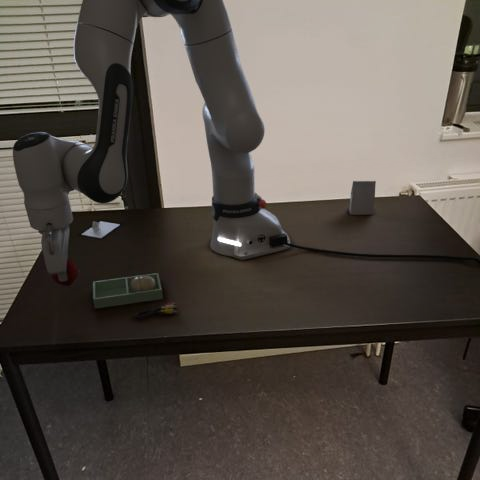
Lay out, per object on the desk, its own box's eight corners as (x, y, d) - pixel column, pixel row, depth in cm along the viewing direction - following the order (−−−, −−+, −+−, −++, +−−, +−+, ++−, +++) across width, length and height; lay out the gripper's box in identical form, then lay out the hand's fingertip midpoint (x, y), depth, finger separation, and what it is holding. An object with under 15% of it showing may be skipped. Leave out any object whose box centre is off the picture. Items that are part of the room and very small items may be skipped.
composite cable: (135, 321, 115) (133, 312, 114) (136, 309, 119) (135, 300, 118) (179, 317, 116) (178, 308, 114) (179, 306, 120) (178, 297, 118)
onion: (73, 293, 115) (66, 262, 110) (50, 291, 116) (41, 260, 111) (85, 280, 120) (78, 249, 115) (62, 278, 121) (54, 247, 116)
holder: (159, 282, 129) (158, 272, 127) (163, 299, 122) (161, 289, 121) (95, 291, 126) (92, 281, 124) (95, 309, 120) (92, 299, 118)
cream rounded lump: (155, 286, 127) (153, 271, 124) (157, 294, 124) (155, 279, 121) (131, 289, 126) (128, 274, 123) (132, 298, 122) (129, 283, 120)
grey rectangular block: (372, 214, 159) (376, 183, 154) (350, 214, 160) (353, 183, 154) (370, 209, 162) (374, 179, 157) (349, 209, 163) (352, 179, 157)
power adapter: (91, 231, 154) (89, 222, 152) (96, 228, 156) (94, 218, 154) (100, 233, 153) (98, 223, 151) (105, 229, 155) (103, 220, 153)
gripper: (63, 234, 100) (77, 293, 108) (67, 195, 116) (79, 250, 124) (29, 237, 99) (46, 297, 107) (38, 198, 115) (52, 253, 123)
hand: (64, 271), depth 116 cm, fingers closed on onion, 6 cm apart
